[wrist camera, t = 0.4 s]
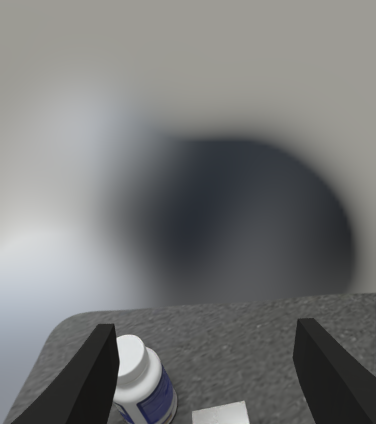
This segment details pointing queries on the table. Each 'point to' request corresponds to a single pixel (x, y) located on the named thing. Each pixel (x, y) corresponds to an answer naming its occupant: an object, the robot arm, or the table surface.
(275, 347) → the table surface
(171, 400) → the pill bottle
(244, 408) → the hinge bracket
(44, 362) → the table surface
